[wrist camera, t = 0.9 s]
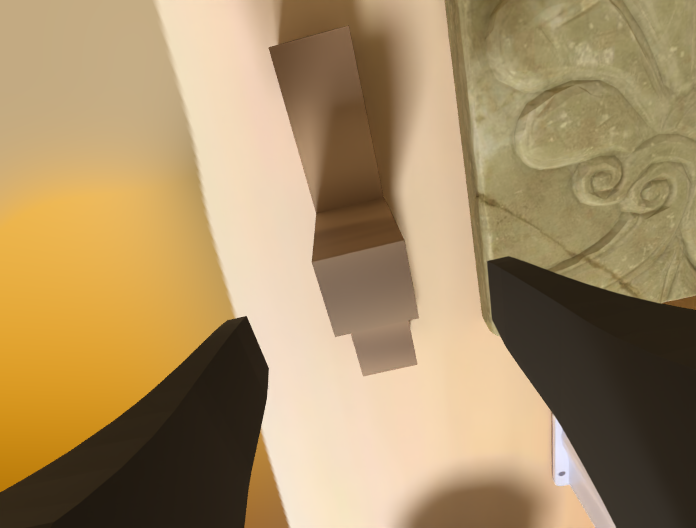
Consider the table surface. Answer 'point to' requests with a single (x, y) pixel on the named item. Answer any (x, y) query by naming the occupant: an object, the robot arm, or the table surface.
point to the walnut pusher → (348, 201)
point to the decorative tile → (580, 139)
